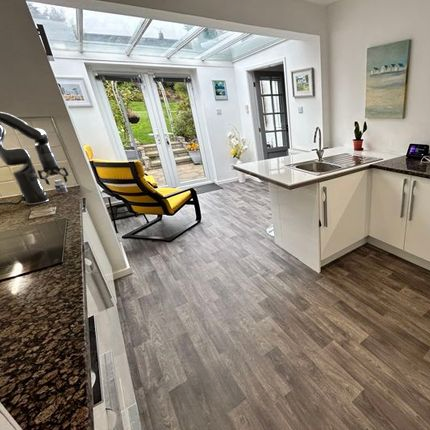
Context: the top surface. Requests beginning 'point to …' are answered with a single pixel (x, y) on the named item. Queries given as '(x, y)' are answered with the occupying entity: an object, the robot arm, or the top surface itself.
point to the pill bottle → (60, 187)
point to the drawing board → (42, 213)
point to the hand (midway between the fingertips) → (57, 183)
